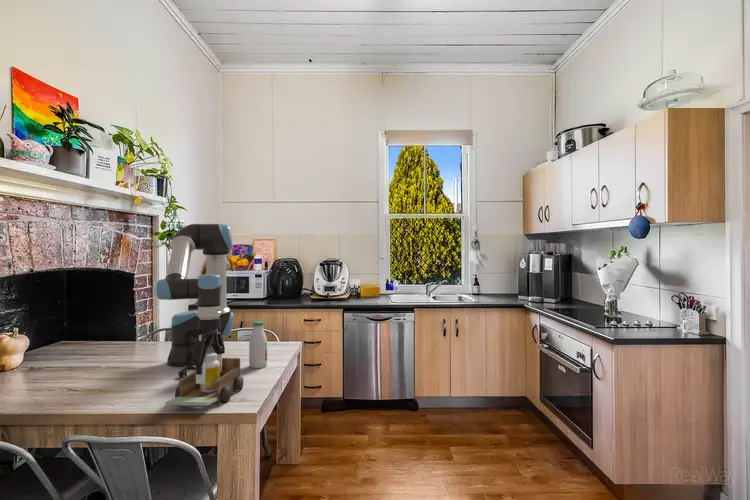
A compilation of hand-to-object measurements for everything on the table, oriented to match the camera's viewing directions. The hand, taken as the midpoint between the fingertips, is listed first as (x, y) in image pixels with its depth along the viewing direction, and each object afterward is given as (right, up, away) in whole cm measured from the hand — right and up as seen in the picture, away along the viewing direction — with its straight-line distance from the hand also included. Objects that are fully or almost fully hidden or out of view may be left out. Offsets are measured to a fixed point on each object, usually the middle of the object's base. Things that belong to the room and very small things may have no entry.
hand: (209, 377), depth 149 cm
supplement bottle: (0, -5, 0) cm, 5 cm away
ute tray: (0, -7, +1) cm, 7 cm away
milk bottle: (+7, -7, +38) cm, 39 cm away
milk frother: (-12, -7, +22) cm, 26 cm away
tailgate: (-1, -4, -8) cm, 10 cm away
